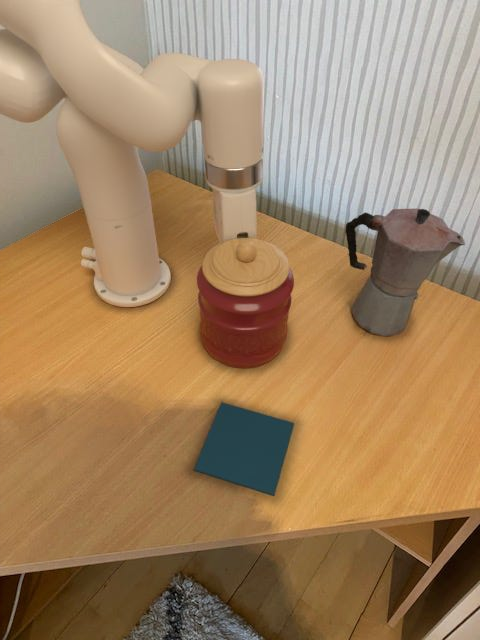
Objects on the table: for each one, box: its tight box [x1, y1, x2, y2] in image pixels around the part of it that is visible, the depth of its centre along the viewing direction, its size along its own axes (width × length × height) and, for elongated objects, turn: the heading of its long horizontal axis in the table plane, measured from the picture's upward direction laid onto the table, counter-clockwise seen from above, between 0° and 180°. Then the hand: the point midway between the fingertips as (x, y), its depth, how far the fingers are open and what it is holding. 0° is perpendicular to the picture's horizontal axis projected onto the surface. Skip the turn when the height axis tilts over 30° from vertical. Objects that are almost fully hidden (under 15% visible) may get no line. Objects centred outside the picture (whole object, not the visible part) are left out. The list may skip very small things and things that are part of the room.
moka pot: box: [345, 208, 466, 337], centre depth 68 cm, size 10×15×20 cm, turn 78°
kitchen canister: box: [196, 238, 295, 369], centre depth 65 cm, size 13×13×18 cm
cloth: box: [193, 401, 295, 497], centre depth 59 cm, size 10×10×1 cm
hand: (238, 274), depth 75 cm, fingers closed
